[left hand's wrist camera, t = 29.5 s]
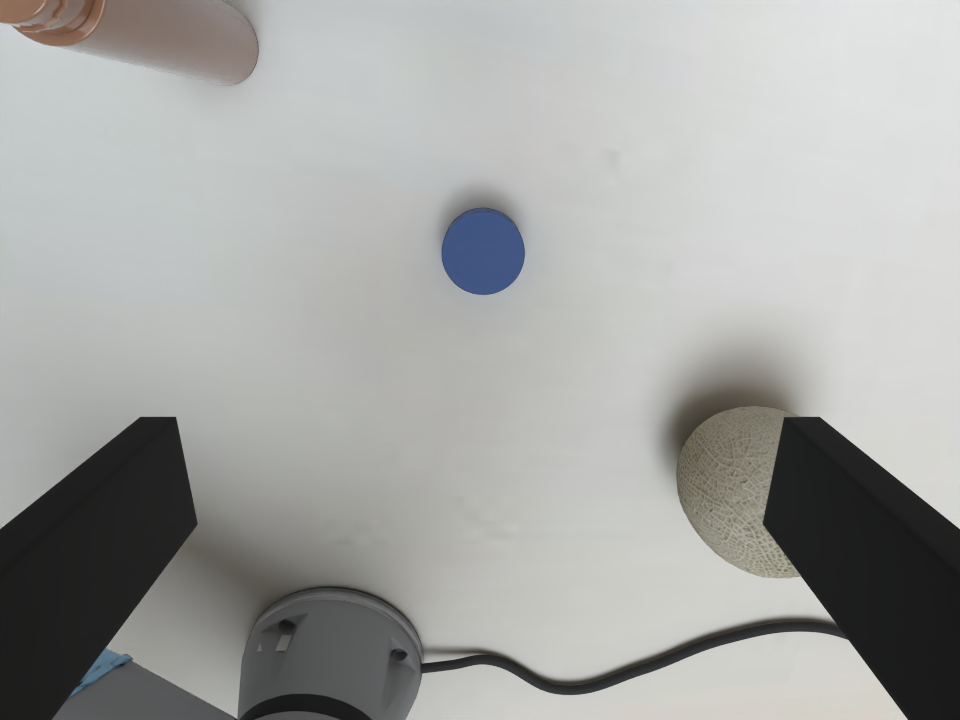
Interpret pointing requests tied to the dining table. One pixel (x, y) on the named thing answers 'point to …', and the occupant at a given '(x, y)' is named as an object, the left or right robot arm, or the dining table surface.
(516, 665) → the left robot arm
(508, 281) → the lid
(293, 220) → the dining table surface
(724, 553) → the fruit
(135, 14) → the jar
